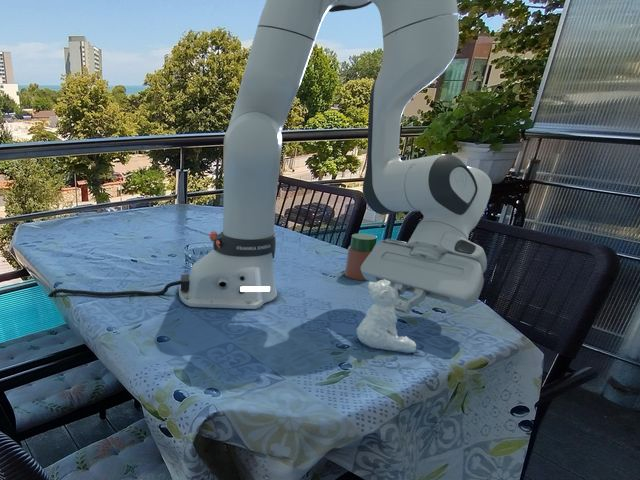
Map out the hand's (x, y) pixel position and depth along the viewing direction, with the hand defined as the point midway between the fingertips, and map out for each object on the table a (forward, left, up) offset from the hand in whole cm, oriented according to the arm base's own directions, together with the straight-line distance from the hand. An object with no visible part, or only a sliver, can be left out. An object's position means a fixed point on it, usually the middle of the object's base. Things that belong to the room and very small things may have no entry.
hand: (399, 310), depth 85 cm
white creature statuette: (-4, -3, -5) cm, 7 cm away
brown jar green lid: (+7, +31, -5) cm, 32 cm away
